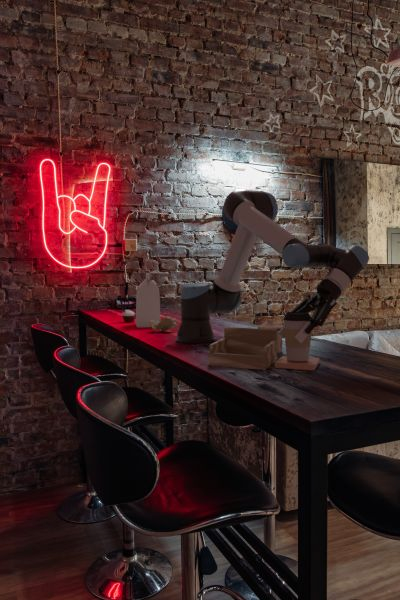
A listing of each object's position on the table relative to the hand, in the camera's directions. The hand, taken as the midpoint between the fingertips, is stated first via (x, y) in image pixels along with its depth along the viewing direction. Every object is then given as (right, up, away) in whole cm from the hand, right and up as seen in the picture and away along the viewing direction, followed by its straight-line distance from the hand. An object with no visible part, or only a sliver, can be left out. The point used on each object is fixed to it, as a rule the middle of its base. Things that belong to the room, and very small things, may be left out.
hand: (289, 337), depth 166 cm
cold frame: (-13, -8, +6) cm, 17 cm away
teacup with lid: (-3, -7, +28) cm, 29 cm away
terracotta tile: (+3, -9, +2) cm, 9 cm away
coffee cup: (+3, -7, +2) cm, 8 cm away
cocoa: (-65, 0, +116) cm, 133 cm away
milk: (-54, -1, +101) cm, 115 cm away
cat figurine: (-44, -3, +78) cm, 90 cm away
